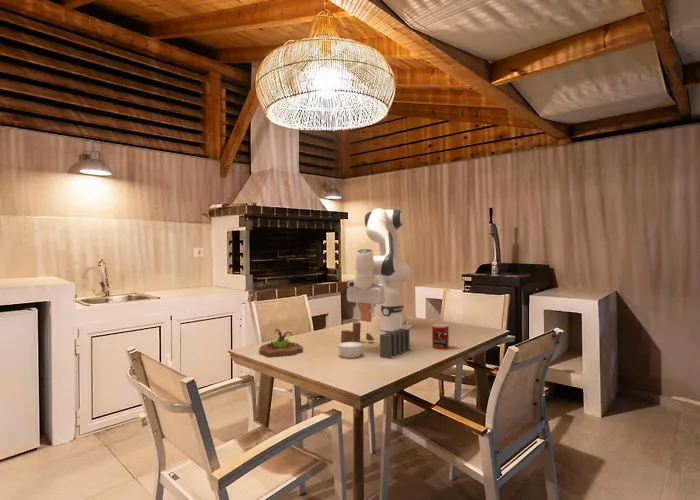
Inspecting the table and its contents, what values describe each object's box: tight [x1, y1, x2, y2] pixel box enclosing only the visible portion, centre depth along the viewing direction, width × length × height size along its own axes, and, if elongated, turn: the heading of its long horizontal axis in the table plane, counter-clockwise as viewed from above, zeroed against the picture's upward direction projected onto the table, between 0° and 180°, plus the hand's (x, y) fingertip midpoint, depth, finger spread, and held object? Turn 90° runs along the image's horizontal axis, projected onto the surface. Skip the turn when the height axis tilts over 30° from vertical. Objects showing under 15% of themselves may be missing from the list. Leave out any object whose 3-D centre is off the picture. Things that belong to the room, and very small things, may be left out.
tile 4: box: [384, 332, 397, 357], centre depth 187 cm, size 2×5×10 cm, turn 52°
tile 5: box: [379, 333, 393, 359], centre depth 184 cm, size 2×5×10 cm, turn 52°
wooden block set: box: [340, 321, 375, 343], centre depth 212 cm, size 18×9×10 cm, turn 127°
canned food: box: [431, 323, 450, 350], centre depth 201 cm, size 8×8×11 cm
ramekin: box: [337, 342, 363, 359], centre depth 188 cm, size 11×11×5 cm
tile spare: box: [360, 303, 372, 323], centre depth 196 cm, size 2×5×10 cm, turn 52°
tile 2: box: [394, 330, 406, 354], centre depth 194 cm, size 2×5×10 cm, turn 52°
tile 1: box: [399, 328, 411, 352], centre depth 197 cm, size 2×5×10 cm, turn 52°
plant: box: [259, 328, 304, 358], centre depth 199 cm, size 20×20×11 cm
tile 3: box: [389, 331, 402, 356], centre depth 191 cm, size 2×5×10 cm, turn 52°
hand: (365, 312), depth 196 cm, fingers closed on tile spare, 5 cm apart
